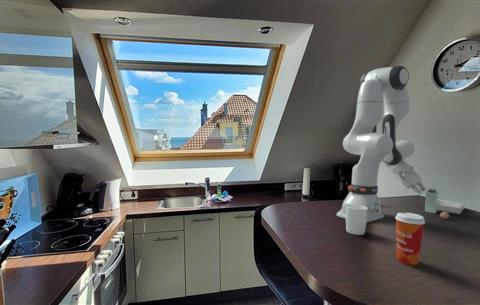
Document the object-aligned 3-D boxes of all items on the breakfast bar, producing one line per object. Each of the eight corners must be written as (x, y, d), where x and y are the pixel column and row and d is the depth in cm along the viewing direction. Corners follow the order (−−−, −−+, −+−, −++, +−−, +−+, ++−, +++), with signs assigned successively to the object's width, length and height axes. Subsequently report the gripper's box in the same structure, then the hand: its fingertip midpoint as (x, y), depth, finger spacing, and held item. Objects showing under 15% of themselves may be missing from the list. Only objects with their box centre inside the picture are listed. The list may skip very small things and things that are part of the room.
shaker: (435, 213, 135) (436, 190, 134) (424, 211, 138) (426, 189, 137) (437, 211, 138) (438, 189, 137) (426, 209, 141) (428, 188, 140)
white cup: (365, 230, 109) (366, 205, 108) (367, 236, 101) (369, 210, 100) (344, 227, 111) (345, 203, 110) (344, 233, 104) (346, 208, 103)
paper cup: (387, 255, 86) (389, 211, 85) (410, 255, 86) (413, 211, 85) (404, 267, 78) (407, 219, 77) (429, 267, 79) (432, 219, 78)
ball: (448, 220, 124) (448, 213, 123) (439, 218, 126) (439, 211, 126) (449, 218, 126) (449, 212, 126) (440, 217, 128) (441, 210, 128)
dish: (459, 214, 134) (460, 208, 133) (430, 209, 142) (431, 203, 142) (463, 209, 143) (464, 203, 143) (436, 204, 152) (436, 199, 152)
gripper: (401, 169, 137) (423, 191, 131) (412, 165, 152) (432, 185, 146) (391, 176, 141) (412, 198, 135) (402, 172, 155) (422, 192, 149)
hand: (422, 191), depth 140 cm, fingers open, 8 cm apart
